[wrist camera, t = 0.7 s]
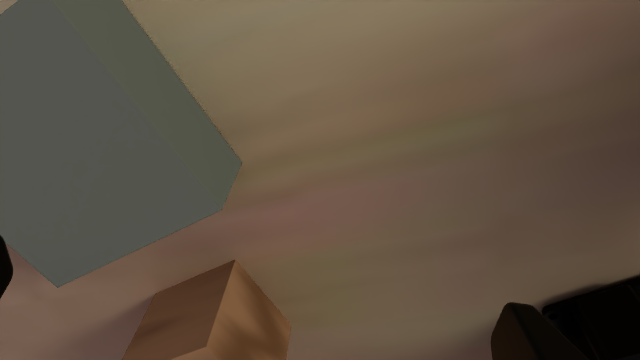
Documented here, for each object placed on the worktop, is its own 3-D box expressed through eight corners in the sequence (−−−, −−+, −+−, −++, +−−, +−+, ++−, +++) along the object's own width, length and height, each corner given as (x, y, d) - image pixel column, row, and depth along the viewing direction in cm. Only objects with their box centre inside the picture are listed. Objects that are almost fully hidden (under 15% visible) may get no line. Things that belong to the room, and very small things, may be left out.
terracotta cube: (291, 324, 28) (277, 417, 23) (215, 351, 30) (186, 442, 25) (235, 258, 26) (206, 346, 21) (156, 292, 28) (110, 380, 22)
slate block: (241, 162, 22) (221, 209, 19) (97, 236, 25) (57, 287, 22) (98, -31, 18) (38, -16, 15) (-55, 85, 21) (-134, 120, 18)
